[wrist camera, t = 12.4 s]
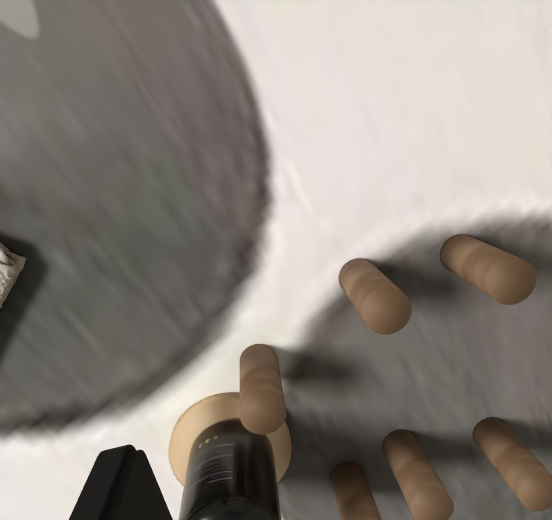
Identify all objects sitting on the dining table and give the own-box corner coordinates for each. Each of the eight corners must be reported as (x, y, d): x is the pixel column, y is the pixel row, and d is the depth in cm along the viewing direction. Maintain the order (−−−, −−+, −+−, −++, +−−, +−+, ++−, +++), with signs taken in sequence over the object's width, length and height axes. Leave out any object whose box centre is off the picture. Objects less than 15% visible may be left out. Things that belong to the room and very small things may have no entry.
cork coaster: (276, 379, 36) (277, 386, 35) (300, 478, 39) (302, 487, 38) (155, 409, 36) (153, 416, 35) (189, 505, 38) (187, 515, 37)
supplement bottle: (288, 460, 37) (312, 608, 25) (219, 499, 37) (211, 662, 26) (244, 400, 35) (247, 531, 23) (172, 442, 35) (140, 590, 24)
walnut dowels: (488, 227, 34) (550, 249, 27) (507, 451, 40) (562, 515, 33) (219, 290, 33) (214, 330, 27) (279, 507, 39) (287, 584, 32)
